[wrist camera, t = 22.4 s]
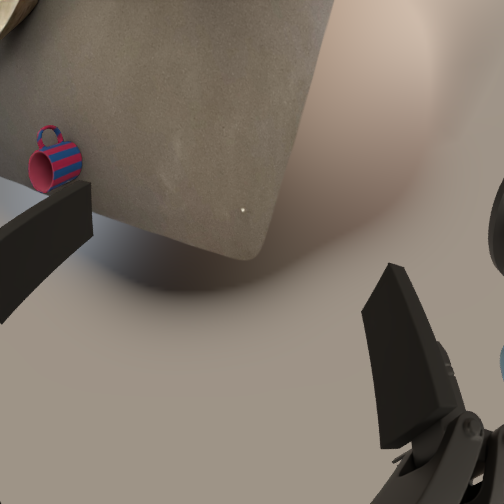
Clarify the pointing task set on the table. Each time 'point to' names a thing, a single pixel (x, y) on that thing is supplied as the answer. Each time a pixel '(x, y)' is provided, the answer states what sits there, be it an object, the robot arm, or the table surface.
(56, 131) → the cup
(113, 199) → the table surface
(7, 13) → the bowl
